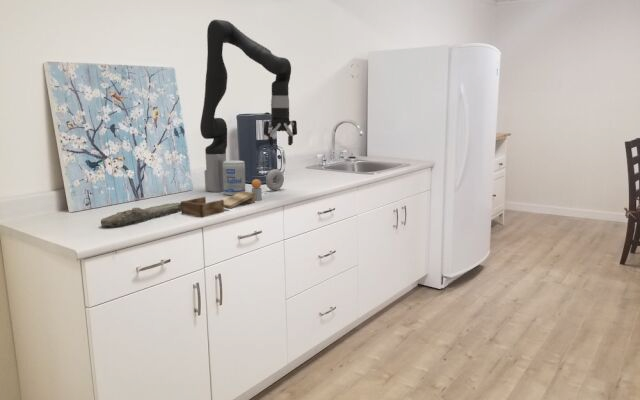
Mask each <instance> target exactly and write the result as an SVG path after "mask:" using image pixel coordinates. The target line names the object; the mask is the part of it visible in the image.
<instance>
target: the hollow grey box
mask: <svg viewBox="0 0 640 400" xmlns="http://www.w3.org/2000/svg"><path fill="white" fill-rule="evenodd" d="M251 193H254V195H255V202H257V201H261V200H262V199H263V197H262V196H263V194H262V187H260V188H257V189H256V188H253V187H252V188H251Z"/></svg>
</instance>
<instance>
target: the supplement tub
mask: <svg viewBox="0 0 640 400" xmlns="http://www.w3.org/2000/svg"><path fill="white" fill-rule="evenodd" d="M245 163H246V162H245V161H244V160H235V159H233V160H226V161H224V162H223V181H224V191H223V194H224V195H225V196H229V197H231V196H233V195H235V194H237V193H239V192H241V191H244V192H246V164H245Z"/></svg>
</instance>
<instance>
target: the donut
mask: <svg viewBox="0 0 640 400" xmlns="http://www.w3.org/2000/svg"><path fill="white" fill-rule="evenodd" d="M274 178H276V181H275V182H274ZM284 181H285V177H284V174H283V172H282V171H281V170H280V169H275V168H274V169H271V170H270V171H268V173H267V174H266V177H265V184H266V188H268V189H269V190H271V191H278V190H280V189H281V188H282V186H283V185H284Z"/></svg>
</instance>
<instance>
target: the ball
mask: <svg viewBox="0 0 640 400" xmlns="http://www.w3.org/2000/svg"><path fill="white" fill-rule="evenodd" d="M251 181H252V182H251V186H252V188H256V189H257V188H262V181H261V180H260V179H257V178H256V179H253V180H251Z"/></svg>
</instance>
